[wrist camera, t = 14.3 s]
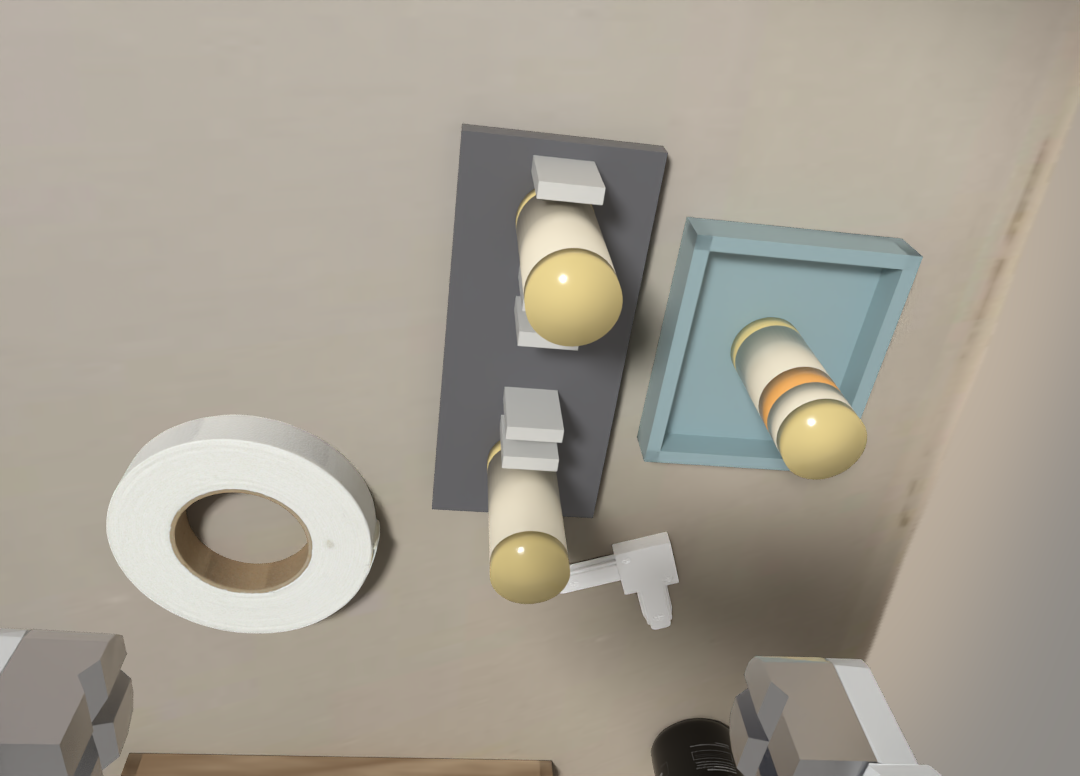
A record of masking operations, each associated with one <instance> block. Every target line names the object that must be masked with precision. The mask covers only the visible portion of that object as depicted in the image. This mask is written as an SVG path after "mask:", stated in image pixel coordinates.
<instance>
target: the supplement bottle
mask: <svg viewBox="0 0 1080 776" xmlns="http://www.w3.org/2000/svg"><path fill="white" fill-rule="evenodd" d="M729 732H730V730H729V729H728V728H727V727H726V726H724V725H722V724H721V723H719V722H716V721H713V720H708V719H691V720H686V721H682V722H679V723H676V724H674V725H672V726H670V727H668V728H667V729H665V730H664V731H663V732H661V733H660V734H659V736H658V737H657V738H656V740H655V741H654V743H653V746H652V750H651V756H652V763H653V768H654V773H655V776H744V775H743V774H742V773H741V772H740V771H739V770H738V769H737V767H736V764H735V760H734V757H733V753H732V748H731V741H730V734H729Z"/></svg>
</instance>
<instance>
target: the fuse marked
mask: <svg viewBox="0 0 1080 776" xmlns="http://www.w3.org/2000/svg"><path fill="white" fill-rule="evenodd" d="M730 355H731V361H732V363H733V366H734V368H735V369H736V371H737V373H738V375H739V377H740V379H741V381H742V383H743V385H744V386H745V388H746V390H747V392H748V394H749V396H750V398H751V400H752V402H753V403H754V405H755V407H756V409H757V411H758V413H759V415H760V417H761V419H762V420H763V422H764V424H765V426H766V428H767V430H768V432H769V434H770V436H771V438H772V439H773V441H774V443H775V445H776V447H777V449H778V451H779V453H780V455H781V456H782V458H783V460H784V462H785V464H786V466H787V467H788V468H789V470H790V471H791V472H793V473H794V474H796V475H798V476H800V477H802V478H806V479H825V478H830V477H833V476H836V475H838V474H840V473H842V472H844V471H845V470H847V469H848V468H850V467H851V466H852V465H853V464H854V463H855V462H856V461H857V460H858V459H859V458H860V456H861V455H862V453H863V451H864V449H865V446H866V442H867V432H866V429H865V426H864V424H863V423H862V421H861V420H860V418H859V417H858V416H857V414H856V413H855V411H854V410H853V408H852V407H851V406H850V404H849V403H848V401H847V400H846V399H845V397H844V396H843V394H842V393H841V391H840V390H839V389H838V387H837V386H836V384H835V383H834V382H833V380H832V379H831V377H830V376H829V375H828V373H827V372H826V370H825V369H824V367H823V366H822V365H821V363H820V362H819V360H818V359H817V358H816V356H815V355H814V353H813V352H812V350H811V349H810V348H809V346H808V345H807V343H806V342H805V341H804V339H803V338H802V336H801V335H800V333H799V332H798V331H797V329H796V328H795V327H794V326H793V325H792V324H791V323H790V322H788V321H786V320H784V319H781V318H776V317H766V318H761V319H758V320H755V321H753V322H751V323H749V324H748V325H746V326H745V327H744V328H743V329H742V330H741V331H740V332H739V333H738V334H737V336H736V337H735V339H734V341H733V343H732V346H731V352H730Z"/></svg>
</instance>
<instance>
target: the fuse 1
mask: <svg viewBox="0 0 1080 776" xmlns="http://www.w3.org/2000/svg"><path fill="white" fill-rule="evenodd" d="M515 224H516V234H517V243H518V251H519V260H520V269H521V277H522V286H523V295H524V303H525V311H526V316H527V318H528V321H529V323H530V325H531V326H532V328H533V329H534V330H535V331H536V332H537V333H538V334H539V335H540V336H541V337H542V338H544V339H545V340H547V341H549V342H551V343H554V344H557V345H561V346H571V347H573V346H581V345H586V344H589V343H592V342H594V341H596V340H598V339H600V338H601V337H603V336H604V335H605V334H607V333H608V332H609V331H610V330H611V328H612V327H613V326H614V325H615V323H616V321H617V320H618V318H619V315H620V313H621V309H622V303H623V296H622V290H621V287H620V284H619V281H618V278H617V275H616V272H615V270H614V267H613V264H612V261H611V258H610V255H609V252H608V250H607V247H606V244H605V241H604V238H603V235H602V233H601V230H600V227H599V224H598V221H597V218H596V215H595V213H594V210H593V207H592V205H591V204H585V203H576V202H566V201H556V200H546V199H537V198H536V193H535V188H534V189H533V190H531V191H530V192H529V193H528V194H527V195H526V196H525V197H524V198H523V200H522V201H521V203H520V205H519V207H518V209H517V212H516V219H515Z"/></svg>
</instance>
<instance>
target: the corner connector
mask: <svg viewBox="0 0 1080 776" xmlns="http://www.w3.org/2000/svg"><path fill="white" fill-rule="evenodd" d="M612 547H613V552H614V554H613V555H609V556H604V557H600V558H596V559H592V560H587V561H583V562H579V563H575V564H570V565H569V566H570V578H569V581H568V583H567V585H566V587H565V588H564V589H563V590H562V591H561V592H560V593H568V592H572V591H577V590H581V589H585V588H589V587H594V586H598V585H602V584H607V583H611V582H615V581H620V580H621V582H622V586H623V590H624V593H625V595H627V594H632V593H636V592H637V595H638V598H639V602H640V606H641V610H642V614H643V616H644V618H645V619H646V620H647V624H648V625H651V628H652V629H654V630H657V629H661V628H666V627H668V626H670V624H671V622H670V620H671V619H672V615H671V614H672V605H671V601H670V597H669V592H668V588H667V585H671V584H675V583H679V580H678V575H677V571H676V566H675V561H674V557H673V552H672V548H671V543H670V540H669V537H668V533H667V532H663V533H659V534H655V535H650V536H646V537H642V538H637V539H633V540H629V541H625V542H620V543H616V544H612Z"/></svg>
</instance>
